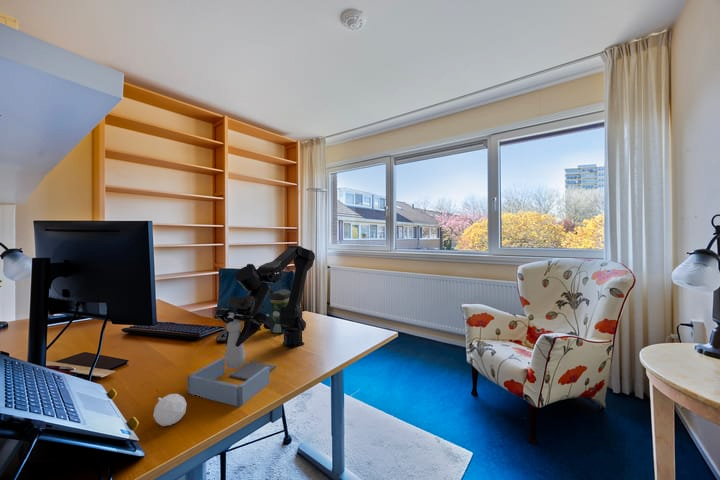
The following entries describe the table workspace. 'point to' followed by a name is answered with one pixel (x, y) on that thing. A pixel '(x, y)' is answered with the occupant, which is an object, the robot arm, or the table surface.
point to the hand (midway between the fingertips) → (231, 345)
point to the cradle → (225, 384)
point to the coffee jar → (278, 307)
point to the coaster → (250, 370)
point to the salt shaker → (234, 346)
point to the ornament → (169, 409)
